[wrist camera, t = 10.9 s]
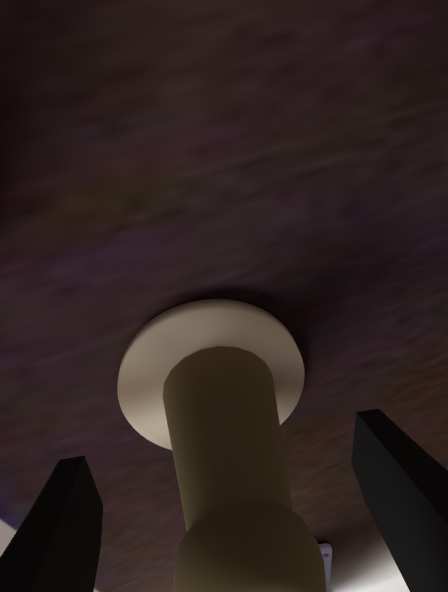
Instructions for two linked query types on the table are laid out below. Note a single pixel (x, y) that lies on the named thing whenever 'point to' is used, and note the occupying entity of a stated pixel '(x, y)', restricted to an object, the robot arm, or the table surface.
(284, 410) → the coaster
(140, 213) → the table surface
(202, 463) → the cork
